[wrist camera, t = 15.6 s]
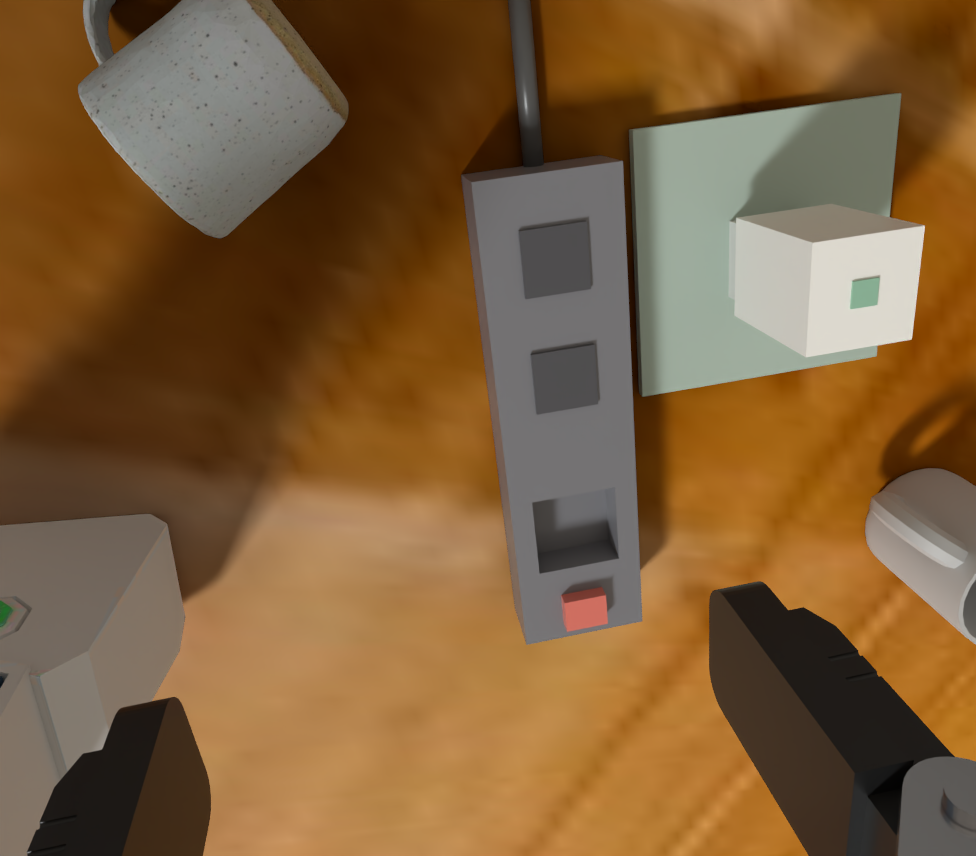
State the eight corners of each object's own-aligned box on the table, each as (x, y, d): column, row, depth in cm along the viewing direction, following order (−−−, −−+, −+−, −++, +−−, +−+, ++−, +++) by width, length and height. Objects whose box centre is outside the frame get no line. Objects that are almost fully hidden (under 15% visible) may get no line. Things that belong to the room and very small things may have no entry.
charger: (720, 212, 40) (813, 243, 32) (811, 199, 41) (926, 225, 32) (719, 307, 42) (807, 358, 34) (806, 293, 43) (913, 340, 34)
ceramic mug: (362, 113, 36) (363, 115, 29) (233, 228, 37) (203, 257, 30) (188, -105, 32) (139, -164, 25) (48, 32, 33) (-37, 12, 26)
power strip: (437, -13, 35) (448, -27, 31) (590, -31, 35) (620, -46, 31) (515, 608, 48) (529, 653, 45) (623, 586, 49) (646, 629, 45)
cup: (914, 576, 53) (1016, 664, 45) (808, 522, 50) (897, 606, 42) (985, 490, 51) (1105, 566, 43) (879, 428, 48) (988, 498, 40)
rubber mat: (629, 129, 38) (632, 130, 38) (893, 93, 40) (901, 93, 39) (639, 393, 44) (642, 396, 43) (870, 353, 45) (876, 356, 45)
